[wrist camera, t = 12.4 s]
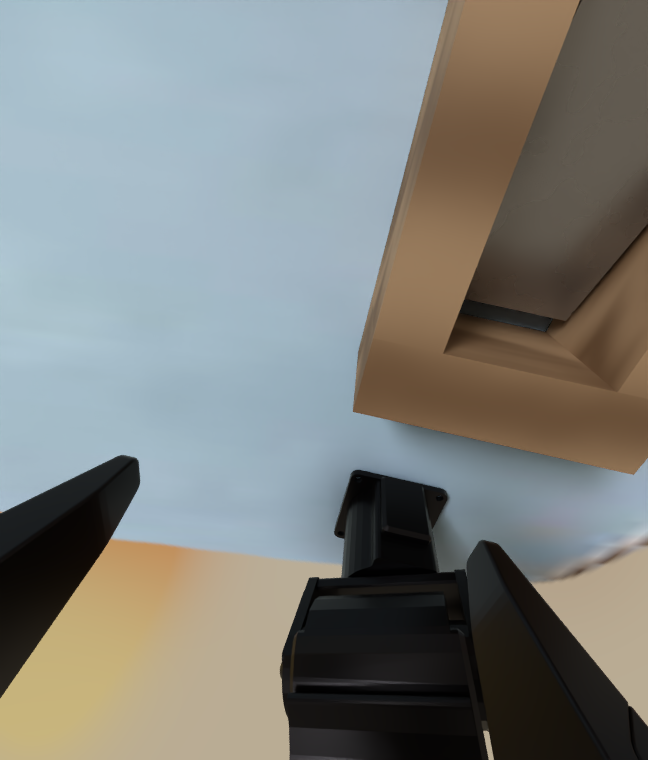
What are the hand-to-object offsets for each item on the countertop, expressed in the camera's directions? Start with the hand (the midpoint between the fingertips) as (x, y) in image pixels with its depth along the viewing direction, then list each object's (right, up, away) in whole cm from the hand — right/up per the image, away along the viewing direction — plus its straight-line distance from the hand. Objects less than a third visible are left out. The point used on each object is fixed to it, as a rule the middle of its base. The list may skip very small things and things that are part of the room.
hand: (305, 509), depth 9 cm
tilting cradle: (+9, +10, +3) cm, 14 cm away
